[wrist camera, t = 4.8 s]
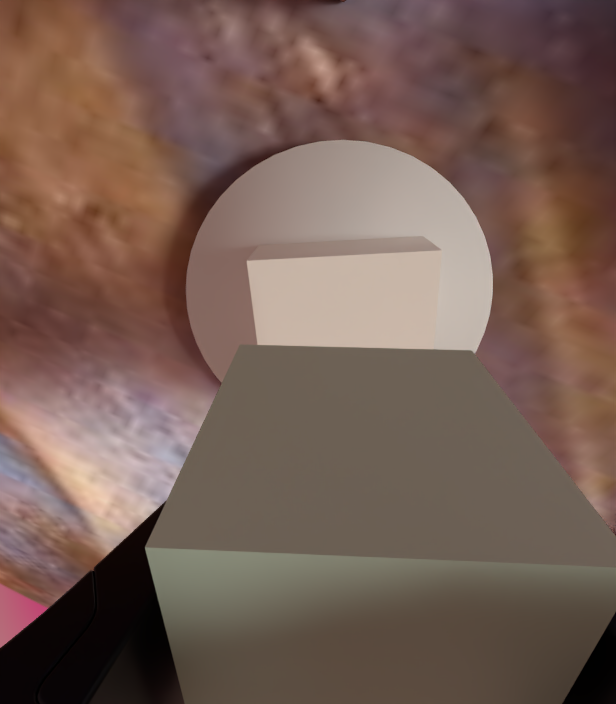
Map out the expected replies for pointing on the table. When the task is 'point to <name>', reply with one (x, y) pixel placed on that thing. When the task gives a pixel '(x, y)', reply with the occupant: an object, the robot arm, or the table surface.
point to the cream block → (346, 293)
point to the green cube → (376, 539)
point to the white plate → (334, 236)
